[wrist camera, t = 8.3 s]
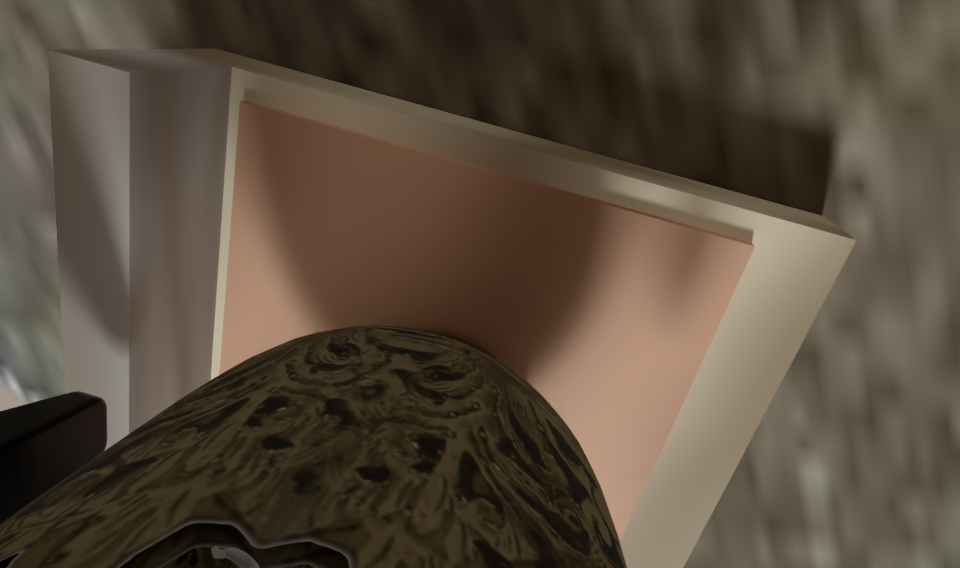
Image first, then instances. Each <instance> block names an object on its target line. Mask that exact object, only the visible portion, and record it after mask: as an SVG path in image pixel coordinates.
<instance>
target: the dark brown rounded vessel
mask: <svg viewBox="0 0 960 568" xmlns="http://www.w3.org/2000/svg"><path fill="white" fill-rule="evenodd" d="M0 568H627V566H626V562H625V559H624V555H623V552H622V548H621V545H620V541H619V538H618V535H617V532H616V529H615V526H614V523H613V520H612V517H611V514H610V511H609V508H608V506H607V503H606V500H605V497H604V494H603V492H602V489H601V486H600V484H599V482H598V480H597V477H596V475H595V473H594V471H593V469H592V467H591V465H590V463H589V461H588V459H587V457H586V455H585V453H584V451H583V449H582V447H581V445H580V443H579V442H578V440H577V439H576V437H575V436H574V434H573V433H572V431H571V430H570V428H569V427H568V425H567V424H566V423H565V422H564V420H563V419H562V418H561V417H560V416H559V414H558V413H557V412H556V411H555V410H554V408H553V407H552V406H551V405H550V404H549V403H548V401H547V400H546V399H545V398H544V397H543V396H542V395H541V394H540V393H539V392H538V391H537V390H536V389H535V388H534V387H533V386H532V385H531V384H530V383H528V382H527V381H526V380H525V379H524V378H522V377H521V376H520V375H518V374H517V373H516V372H514V371H513V370H512V369H510V368H509V367H508V366H506V365H504V364H503V363H502V362H501V361H500V360H499V359H498V358H497V357H496V356H495V355H494V354H493V353H492V352H491V351H489V350H488V349H487V348H485V347H484V346H483V345H481V344H480V343H478V342H476V341H475V340H473V339H471V338H469V337H467V336H465V335H462V334H459V333H457V332H453V331H450V330H446V329H440V328H429V327H420V328H405V327H398V326H380V325H370V326H353V327H346V328H340V329H334V330H328V331H322V332H316V333H312V334H309V335H305V336H302V337H298V338H295V339H292V340H290V341H288V342H285V343H283V344H281V345H278V346H276V347H273V348H271V349H269V350H266V351H264V352H262V353H259V354H257V355H255V356H252V357H250V358H249V359H247V360H245V361H243V362H241V363H240V364H238V365H236V366H234V367H232V368H231V369H229V370H227V371H225V372H224V373H222V374H220V375H219V376H217V377H215V378H214V379H212V380H210V381H208V382H207V383H205V384H203V385H202V386H200V387H199V388H197V389H196V390H194V391H192V392H191V393H189V394H188V395H186V396H185V397H183V398H182V399H180V400H178V401H177V402H175V403H174V404H172V405H171V406H169V407H168V408H166V409H165V410H163V411H162V412H160V413H159V414H157V415H156V416H155V417H153V418H152V419H150V420H149V421H147V422H146V423H144V424H143V425H141V426H140V427H138V428H137V429H136V430H134V431H133V432H131V433H130V434H128V435H127V436H125V437H124V438H122V439H121V440H120V441H118V442H117V443H115V444H114V445H112V446H111V447H109V448H108V449H107V450H105V451H104V452H102V453H101V454H99V455H98V456H96V457H95V458H94V459H92V460H91V461H89V462H88V463H86V464H85V465H84V466H82V467H81V468H79V469H78V470H76V471H75V472H74V473H72V474H71V475H69V476H68V477H66V478H65V479H63V480H62V481H61V482H59V483H58V484H56V485H55V486H54V487H52V488H51V489H49V490H48V491H46V492H45V493H44V494H42V495H41V496H39V497H38V498H37V499H35V500H34V501H32V502H31V503H29V504H28V505H27V506H25V507H24V508H22V509H21V510H20V511H18V512H17V513H15V514H14V515H12V516H11V517H10V518H8V519H7V520H5V521H4V522H3V523H1V524H0Z"/></svg>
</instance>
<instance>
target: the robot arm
mask: <svg viewBox="0 0 960 568" xmlns="http://www.w3.org/2000/svg"><path fill="white" fill-rule="evenodd" d="M106 445H107V405H106V403H105V401H104V399H102V398H100V397H97V396H94V395H91V394H88V393H85V392H80V391H74V392H70V393H66V394H63V395H59V396H55V397H52V398H48V399H44V400H41V401H37V402H33V403H30V404H26V405H22V406H19V407H15V408H11V409H8V410H4V411H0V524H1V523H3V522H4V521H5V520H7V519H8V518H10V517H11V516H12V515H14V514H15V513H17V512H18V511H20V510H21V509H22V508H24V507H25V506H27V505H28V504H29V503H31V502H32V501H34V500H35V499H37V498H38V497H39V496H41V495H42V494H44V493H45V492H46V491H48V490H49V489H51V488H52V487H54V486H55V485H56V484H58V483H59V482H61V481H62V480H63V479H65V478H66V477H68V476H69V475H71V474H72V473H74V472H75V471H76V470H78V469H79V468H81V467H82V466H84V465H85V464H86V463H88V462H89V461H91V460H92V459H94V458H95V457H96V456H98V455H99V454H101V453H102V452H104V450H105V448H106Z"/></svg>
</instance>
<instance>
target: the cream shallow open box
mask: <svg viewBox="0 0 960 568" xmlns="http://www.w3.org/2000/svg"><path fill="white" fill-rule="evenodd" d="M48 61H49V81H50V101H51V121H52V141H53V161H54V181H55V201H56V221H57V241H58V261H59V281H60V301H61V321H62V342H63V362H64V382H65V394H66V393H70V392H74V391H80V392H85V393H88V394H91V395H94V396H97V397H100V398H102V399H104V401H105V403H106V405H107V445H106V448H105V450H107V449H108V448H109V447H111V446H112V445H114V444H115V443H117V442H118V441H120V440H121V439H122V438H124V437H125V436H127V435H128V434H130V433H131V432H133V431H134V430H136V429H137V428H138V427H140V426H141V425H143V424H144V423H146V422H147V421H149V420H150V419H152V418H153V417H155V416H156V415H157V414H159V413H160V412H162V411H163V410H165V409H166V408H168V407H169V406H171V405H172V404H174V403H175V402H177V401H178V400H180V399H182V398H183V397H185V396H186V395H188V394H189V393H191V392H192V391H194V390H196V389H197V388H199V387H200V386H202V385H203V384H205V383H207V382H208V381H210V380H212V379H214V378H215V377H217V376H219V375H220V374H222V373H224V372H225V371H227V370H229V369H231V368H232V367H234V366H236V365H238V364H240V363H241V362H243V361H245V360H247V359H249V358H250V357H252V356H255V355H257V354H259V353H262V352H264V351H266V350H269V349H271V348H273V347H276V346H278V345H281V344H283V343H285V342H288V341H290V340H292V339H295V338H298V337H302V336H305V335H309V334H312V333H316V332H322V331H328V330H334V329H340V328H346V327H353V326H370V325H380V326H398V327H405V328H420V327H429V328H440V329H446V330H450V331H453V332H457V333H459V334H462V335H465V336H467V337H469V338H471V339H473V340H475V341H476V342H478V343H480V344H481V345H483V346H484V347H485V348H487V349H488V350H489V351H491V352H492V353H493V354H494V355H495V356H496V357H497V358H498V359H499V360H500V361H501V362H502V363H503V364H504V365H506V366H508V367H509V368H510V369H512V370H513V371H514V372H516V373H517V374H518V375H520V376H521V377H522V378H524V379H525V380H526V381H527V382H528V383H530V384H531V385H532V386H533V387H534V388H535V389H536V390H537V391H538V392H539V393H540V394H541V395H542V396H543V397H544V398H545V399H546V400H547V401H548V403H549V404H550V405H551V406H552V407H553V408H554V410H555V411H556V412H557V413H558V414H559V416H560V417H561V418H562V419H563V420H564V422H565V423H566V424H567V425H568V427H569V428H570V430H571V431H572V433H573V434H574V436H575V437H576V439H577V440H578V442H579V443H580V445H581V447H582V449H583V451H584V453H585V455H586V457H587V459H588V461H589V463H590V465H591V467H592V469H593V471H594V473H595V475H596V477H597V480H598V482H599V484H600V486H601V489H602V492H603V494H604V497H605V500H606V503H607V506H608V508H609V511H610V514H611V517H612V520H613V523H614V526H615V529H616V532H617V535H618V538H619V541H620V545H621V548H622V552H623V555H624V559H625V562H626V566H627V568H683V567H684V565H685V563H686V562H687V560H688V558H689V556H690V554H691V552H692V550H693V548H694V546H695V545H696V543H697V541H698V539H699V537H700V535H701V533H702V531H703V529H704V528H705V526H706V524H707V522H708V520H709V518H710V516H711V514H712V512H713V511H714V509H715V507H716V505H717V503H718V501H719V499H720V497H721V495H722V494H723V492H724V490H725V488H726V486H727V484H728V482H729V480H730V478H731V477H732V475H733V473H734V471H735V469H736V467H737V465H738V463H739V461H740V460H741V458H742V456H743V454H744V452H745V450H746V448H747V446H748V444H749V443H750V441H751V439H752V437H753V435H754V433H755V431H756V429H757V427H758V426H759V424H760V422H761V420H762V418H763V416H764V414H765V412H766V410H767V409H768V407H769V405H770V403H771V401H772V399H773V397H774V395H775V393H776V392H777V390H778V388H779V386H780V384H781V382H782V380H783V378H784V376H785V375H786V373H787V371H788V369H789V367H790V365H791V363H792V361H793V359H794V358H795V356H796V354H797V352H798V350H799V348H800V346H801V344H802V342H803V341H804V339H805V337H806V335H807V333H808V331H809V329H810V327H811V325H812V324H813V322H814V320H815V318H816V316H817V314H818V312H819V310H820V308H821V307H822V305H823V303H824V301H825V299H826V297H827V295H828V293H829V291H830V290H831V288H832V286H833V284H834V282H835V280H836V278H837V276H838V274H839V273H840V271H841V269H842V267H843V265H844V263H845V261H846V259H847V257H848V256H849V254H850V252H851V250H852V248H853V246H854V244H855V242H856V239H854V238H853V237H851V236H850V235H849V234H847V233H846V232H845V231H843V230H842V229H840V228H839V227H838V226H836V225H835V224H833V223H832V222H831V221H829V220H828V219H826V218H825V217H824V216H821V215H818V214H814V213H810V212H807V211H803V210H799V209H796V208H792V207H789V206H785V205H781V204H778V203H774V202H770V201H767V200H763V199H760V198H756V197H752V196H749V195H745V194H742V193H738V192H734V191H731V190H727V189H723V188H720V187H716V186H713V185H709V184H705V183H702V182H698V181H694V180H691V179H687V178H684V177H680V176H676V175H673V174H669V173H665V172H662V171H658V170H655V169H651V168H647V167H644V166H640V165H636V164H633V163H629V162H626V161H622V160H618V159H615V158H611V157H607V156H604V155H600V154H597V153H593V152H589V151H586V150H582V149H578V148H575V147H571V146H568V145H564V144H560V143H557V142H553V141H549V140H546V139H542V138H539V137H535V136H531V135H528V134H524V133H521V132H517V131H513V130H510V129H506V128H502V127H499V126H495V125H492V124H488V123H484V122H481V121H477V120H473V119H470V118H466V117H463V116H459V115H455V114H452V113H448V112H444V111H441V110H437V109H434V108H430V107H426V106H423V105H419V104H415V103H412V102H408V101H405V100H401V99H397V98H394V97H390V96H386V95H383V94H379V93H376V92H372V91H368V90H365V89H361V88H357V87H354V86H350V85H347V84H343V83H339V82H336V81H332V80H328V79H325V78H321V77H318V76H314V75H310V74H307V73H303V72H300V71H296V70H292V69H289V68H285V67H281V66H278V65H274V64H271V63H267V62H263V61H260V60H256V59H252V58H249V57H245V56H242V55H238V54H234V53H231V52H227V51H223V50H220V49H64V50H48ZM105 450H104V451H105Z"/></svg>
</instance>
